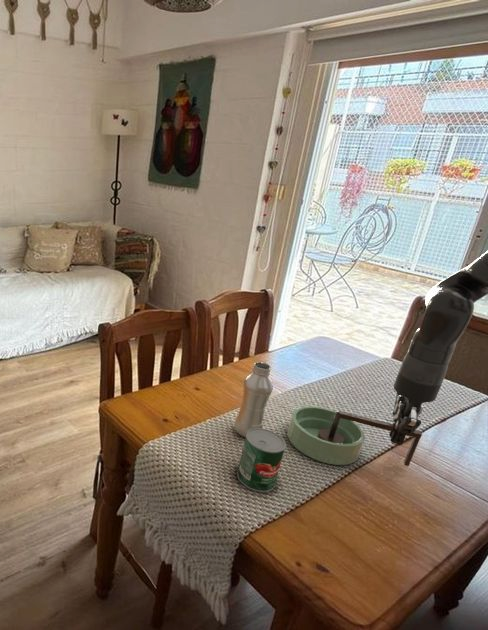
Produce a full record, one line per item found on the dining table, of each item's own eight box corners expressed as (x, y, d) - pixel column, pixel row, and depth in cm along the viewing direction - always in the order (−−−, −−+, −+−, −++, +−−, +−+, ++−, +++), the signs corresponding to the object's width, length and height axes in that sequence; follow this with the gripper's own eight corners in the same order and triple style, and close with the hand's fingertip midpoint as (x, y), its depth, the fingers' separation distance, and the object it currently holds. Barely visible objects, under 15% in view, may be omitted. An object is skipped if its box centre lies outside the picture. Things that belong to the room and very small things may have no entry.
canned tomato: (247, 461, 103) (256, 423, 98) (280, 480, 98) (292, 440, 93) (230, 478, 98) (239, 438, 93) (265, 498, 92) (276, 457, 88)
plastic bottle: (239, 422, 117) (254, 356, 109) (265, 434, 112) (282, 366, 104) (228, 432, 112) (242, 364, 105) (254, 445, 108) (271, 375, 100)
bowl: (355, 437, 112) (362, 417, 110) (359, 475, 100) (367, 454, 97) (288, 418, 119) (293, 399, 117) (285, 452, 106) (290, 432, 104)
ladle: (316, 445, 107) (326, 414, 103) (316, 432, 111) (325, 402, 108) (410, 472, 99) (423, 440, 95) (406, 457, 103) (419, 426, 100)
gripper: (450, 395, 87) (420, 464, 94) (435, 365, 98) (409, 429, 105) (404, 385, 90) (379, 452, 97) (395, 357, 101) (372, 419, 108)
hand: (395, 440), depth 101 cm, fingers closed on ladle, 1 cm apart
